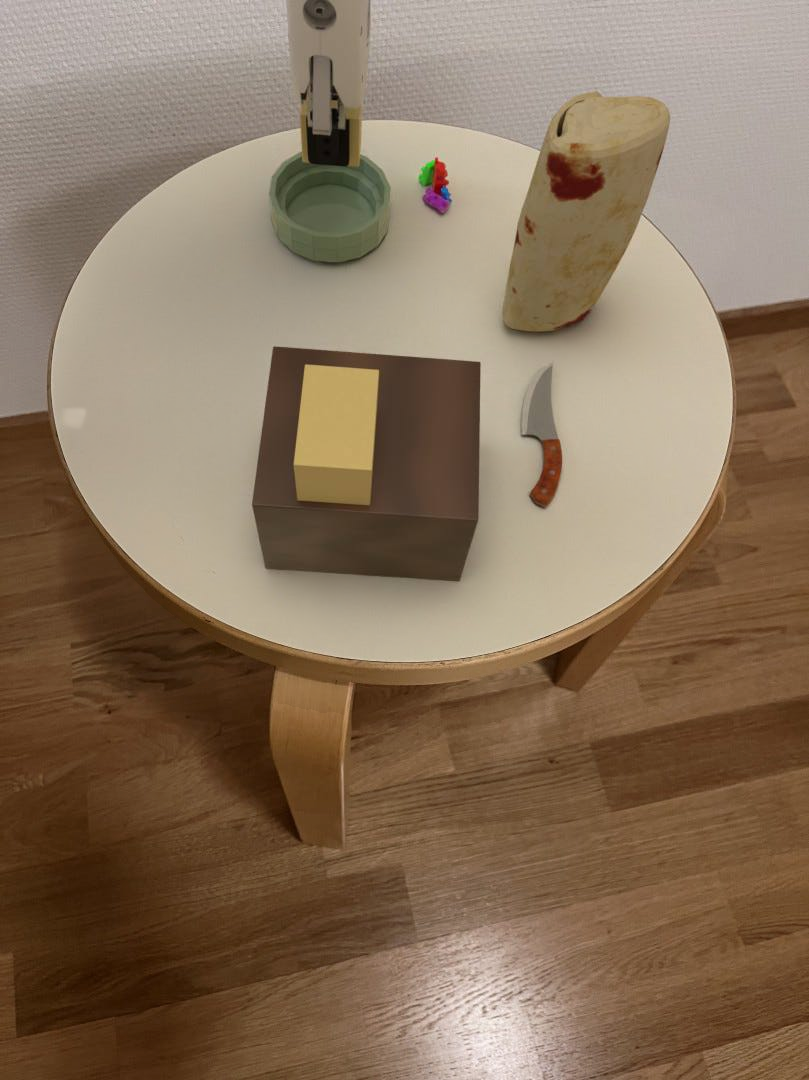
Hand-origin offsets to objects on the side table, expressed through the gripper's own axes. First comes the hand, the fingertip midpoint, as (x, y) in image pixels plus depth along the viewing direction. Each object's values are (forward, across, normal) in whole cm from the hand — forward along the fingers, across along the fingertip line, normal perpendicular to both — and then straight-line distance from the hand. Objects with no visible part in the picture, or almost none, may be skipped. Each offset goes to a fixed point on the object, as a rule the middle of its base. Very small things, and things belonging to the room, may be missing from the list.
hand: (330, 146), depth 71 cm
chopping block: (+8, -27, -5) cm, 29 cm away
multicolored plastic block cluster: (+8, +4, -9) cm, 13 cm away
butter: (-2, -29, -3) cm, 29 cm away
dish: (+8, 0, 0) cm, 8 cm away
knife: (+8, -20, -18) cm, 28 cm away
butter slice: (+1, 0, 0) cm, 1 cm away
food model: (+8, -8, -19) cm, 22 cm away
